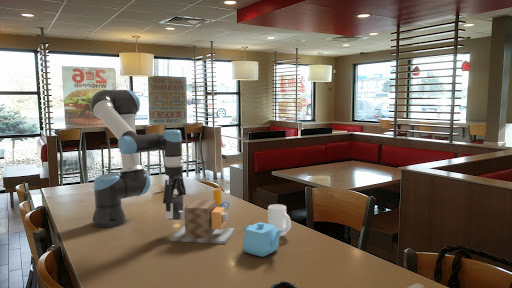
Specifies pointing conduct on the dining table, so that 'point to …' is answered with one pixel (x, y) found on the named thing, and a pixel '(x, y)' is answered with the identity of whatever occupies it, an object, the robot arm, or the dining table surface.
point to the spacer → (217, 218)
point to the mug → (279, 218)
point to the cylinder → (219, 198)
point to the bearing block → (201, 225)
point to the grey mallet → (178, 208)
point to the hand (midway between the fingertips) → (175, 213)
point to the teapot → (261, 239)
